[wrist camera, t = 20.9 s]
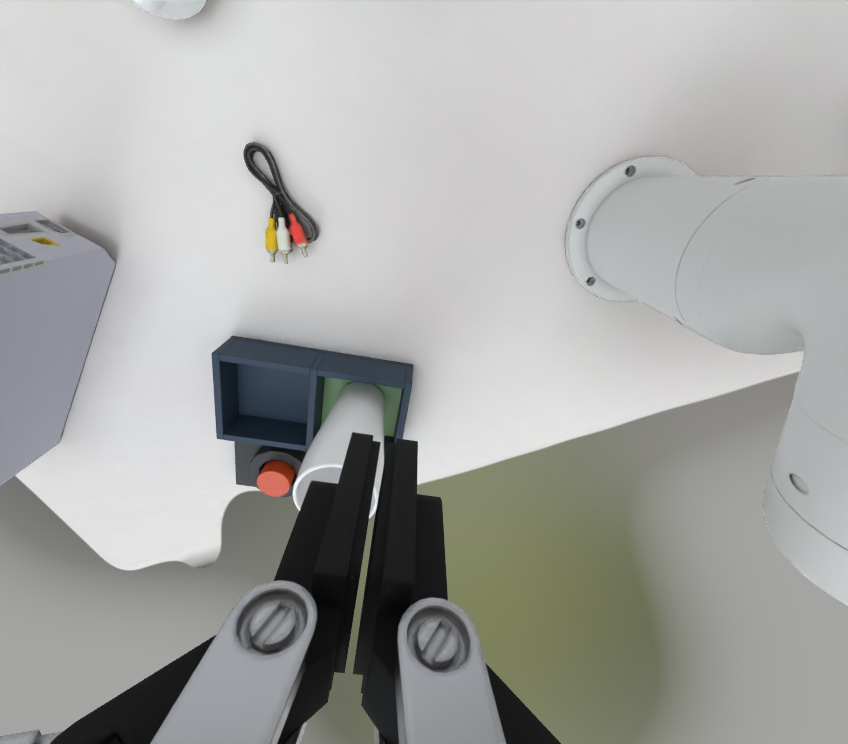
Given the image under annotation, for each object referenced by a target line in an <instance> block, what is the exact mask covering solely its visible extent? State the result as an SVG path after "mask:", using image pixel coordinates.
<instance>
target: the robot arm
mask: <svg viewBox="0 0 848 744" xmlns="http://www.w3.org/2000/svg"><path fill="white" fill-rule="evenodd" d="M627 168H628V173H627V174H625V171H626V169H627ZM577 220H579V221H580V223H579V225H577V226H576V222H577ZM565 252H566V257H567V262H568V265H569V267H570V270H571V272H572V274H573V276H574V277H575V278H576V280H577V281H578V282H579V284H580V285H582V286H583V287H584V288H585V289H586V290H587V291H589V292H590V293H592V294H594V295H595V296H597V297H600V298H602V299H605V300H608V301H614V302H632V301H638V300H639V301H641V302H643V303H644V304H646V305H648V306H650V307H652V308H653V309H655V310H657V311H659V312H660V313H662V314H664V315H666V316H667V317H669V318H671V319H673V320H674V321H676V322H678V323H680V324H681V325H683V326H685V327H687V328H689V329H690V330H692V331H694V332H696V333H697V334H699V335H701V336H703V337H704V338H706V339H708V340H710V341H712V342H714V343H716V344H718V345H720V346H722V347H725V348H727V349H730V350H734V351H737V352H742V353H748V354H759V355H773V354H783V353H791V352H798V351H803V350H804V357H803V362H802V366H801V369H800V373H799V376H798V379H797V382H796V385H795V389H794V398H793V401H792V404H791V407H790V410H789V413H788V416H787V419H786V422H785V425H784V428H783V431H782V434H781V437H780V440H779V443H778V446H777V449H776V452H775V455H774V458H773V462H772V465H771V469H770V472H769V475H768V478H767V482H766V487H765V491H764V499H763V510H764V519H765V522H766V525H767V528H768V531H769V534H770V535H771V537H772V539H773V541H774V542H775V544H776V545H777V547H778V548H779V550H780V551H781V552H782V554H783V555H784V556H785V557H786V559H787V560H788V561H789V562H790V563H791V564H792V565H793V566H794V567H795V568H796V569H798V570H799V571H800V572H801V573H802V574H803V575H804V576H805V577H806V578H808V579H809V580H810V581H811V582H813V583H814V584H815V585H817V586H818V587H820V588H821V589H822V590H824V591H825V592H827V593H828V594H830V595H831V596H832V597H834V598H835V599H837V600H839V601H840V602H842V603H844V604H845V605H847V606H848V175H832V176H698V175H697V174H696V173H695V172H694V171H693V170H692V169H691V168H690V167H688V166H687V165H685V164H684V163H682V162H680V161H677V160H674V159H671V158H669V157H659V156H649V157H640V158H636V159H631V160H628V161H625V162H623V163H621V164H618V165H616V166H614V167H612V168H611V169H609V170H608V171H606V172H605V173H603V174H602V175H600V176H599V177H598V178H597V179H596V180H595V181H594V182H593V183H592V184H591V185H590V186H589V187H588V188H587V189H586V191H585V192H584V193H583V195H582V196H581V197H580V199H579V200H578V202H577V204H576V206H575V208H574V209H573V211H572V214H571V217H570V220H569V222H568V226H567V232H566V237H565ZM589 277H590V280H589V281H588V282H586V281H587V279H588V278H589ZM380 444H381V442H378V441H373V435H369V434H362V433H355V432H352V435H351V438H350V442H349V446H348V449H347V453H346V456H345V460H344V464H343V467H342V471H341V475H340V478H339V482H338V484H336V483H328V482H321V481H313V480H312V481H311V482H310V485H309V487H308V490H307V492H306V495H305V498H304V500H303V503H302V506H301V509H300V511H299V514H298V517H297V519H296V522H295V525H294V528H293V530H292V533H291V536H290V538H289V541H288V544H287V546H286V549H285V552H284V555H283V557H282V560H281V563H280V566H279V568H278V571H277V574H276V576H275V579H274V581H273V582H267V583H264V584H262V585H260V586H258V587H255V588H253V589H252V590H251V591H249V592H248V593H247V594H245V595H244V596H243V597H241V599H240V600H239V601H238V603H237V604H236V605H235V606H234V608H233V609H232V610H231V612H230V614H229V615H228V617H227V619H226V620H225V622H224V623H223V625H222V627H221V628H220V630H219V632H218V633H217V635H215V636H214V637H212V638H210V639H209V640H207V641H205V642H204V643H202V644H201V645H199V646H197V647H196V648H194V649H193V650H191V651H189V652H188V653H186V654H184V655H183V656H181V657H180V658H178V659H176V660H175V661H173V662H172V663H170V664H168V665H167V666H165V667H163V668H162V669H160V670H159V671H157V672H155V673H154V674H152V675H151V676H149V677H147V678H146V679H144V680H143V681H141V682H139V683H138V684H136V685H134V686H133V687H131V688H130V689H128V690H126V691H125V692H123V693H122V694H120V695H118V696H117V697H115V698H114V699H112V700H110V701H109V702H107V703H105V704H104V705H102V706H101V707H99V708H97V709H96V710H94V711H93V712H91V713H89V714H88V715H86V716H85V717H83V718H81V719H80V720H78V721H77V722H75V723H74V724H73V725H71V726H70V727H69V728H67V729H66V730H65V731H63V732H58V733H52V734H46V735H41V733H40V731H39V730H33V731H28V732H22V733H17V734H11V735H5V736H0V744H300V742H301V739H302V736H303V733H304V730H305V726H306V721H307V720H308V719H309V718H310V717H312V716H313V715H314V714H315V713H316V712H317V711H318V710H319V709H320V708H322V707H323V706H324V705H325V704H326V703H327V702H328V697H329V691H330V690H331V687H332V681H333V675H334V672H339V673H344V672H345V666H346V659H347V653H348V647H349V641H350V634H351V628H352V622H353V615H354V609H355V602H356V596H357V590H358V584H359V577H360V571H361V564H362V558H363V552H364V546H365V539H366V533H367V526H368V520H369V514H370V508H371V501H372V495H373V489H374V482H375V476H376V470H377V463H378V457H379V451H380ZM417 452H418V442H417V441H411V440H404V439H396V444H392V443H388V444H387V449H386V455H385V461H384V467H383V473H382V479H381V485H380V491H379V497H378V503H377V509H376V515H375V521H374V528H373V535H372V542H371V549H370V556H369V563H368V571H367V578H366V585H365V592H364V599H363V606H362V613H361V620H360V628H359V635H358V642H357V649H356V656H355V663H354V670H353V674H361V675H363V680H362V688H361V693H363V696H362V704H361V705H362V707H363V708H364V710H365V711H366V713H367V714H368V716H369V717H370V719H371V720H372V722H373V723H374V725H375V726H376V727H375V744H561V743H560V742H559V741H558V740H557V739H556V738H555V737H554V736H553V735H552V734H551V732H550V731H549V730H548V729H547V728H546V727H545V726H544V725H543V724H542V723H541V722H540V721H539V720H538V719H537V718H536V716H535V715H534V714H532V712H531V711H530V710H529V709H528V708H527V707H526V706H525V705H524V704H523V703H522V702H521V700H520V699H519V698H518V697H517V696H516V695H515V694H514V693H513V692H512V691H511V690H510V689H509V688H508V687H507V685H506V684H505V683H504V682H503V681H502V680H501V679H500V678H499V677H498V676H497V675H496V674H495V673H494V672H493V671H492V669H491V668H490V667H489V666H488V665H487V664H486V663H485V660H484V656H483V652H482V649H481V645H480V641H479V637H478V634H477V631H476V629H475V626H474V624H473V622H472V620H471V619H470V618H469V616H468V615H467V614H466V612H465V611H463V610H462V609H461V608H460V607H458V606H457V605H456V604H455V603H452V602H450V601H448V599H447V598H448V597H447V581H446V565H445V564H446V563H445V548H444V547H445V546H444V530H443V512H442V501H441V498H440V497H433V496H426V495H419V494H417Z"/></svg>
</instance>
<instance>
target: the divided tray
mask: <svg viewBox="0 0 848 744" xmlns="http://www.w3.org/2000/svg"><path fill="white" fill-rule="evenodd" d="M212 366H213V382H214V399H215V416H216V432H217V439H224V440H229V441H236V442H244V443H251V444H258V445H265V446H273V447H280V448H287V449H294V450H301V451H305V450H306V451H307V450H308V449H309V447H310V445H311V443H312V441H313V439H314V438H315V436H316V434H317V432H318V431H319V429H320V427H321V426H322V424H323V422H324V420H325V419H326V417H327V415H328V414H329V412H330V410H331V408H332V407H333V405H334V403H335V401H336V398H337V396H338V394H339V392H340V391H341V389H342V388H343V387H345V386H346V385H348V384H350V383H353V382H361V383H367V384H373V385H374V386H376V387H377V388H378V389H379V390H380V391H381V392H382V394H383V395H384V398H385V402H386V407H385V414H384V461H385V455H386V449H387V444H388V443H392V444H396V439H402V437H403V431H404V426H405V420H406V415H407V410H408V404H409V399H410V393H411V388H412V377H413V365H412V364H406V363H399V362H393V361H387V360H380V359H374V358H368V357H362V356H355V355H349V354H343V353H336V352H330V351H324V350H317V349H311V348H305V347H299V346H292V345H286V344H280V343H273V342H267V341H261V340H255V339H248V338H242V337H236V336H232V337H231V338H230V339H228V340H227V341H226V342H225V343H224V344H222V345H221V346H220V347H219V348H218V349H216V350H215V351H214V352H213V353H212Z"/></svg>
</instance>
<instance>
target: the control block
mask: <svg viewBox="0 0 848 744" xmlns="http://www.w3.org/2000/svg"><path fill="white" fill-rule="evenodd" d="M306 453H307V451H306V450H305V451H301V450H294V449H287V448H280V447H273V446H265V445H258V444H251V443H244V442H236V441H235V464H236V484H238V485H246V486H254V487H257V488H258V486H257V478H258V476H259V474H260V473H261V471H262V469H263V467H264V466H265V464H266V463H268V462H270V461H273V460H280V461H284V462H286V463H287V464H289V465H290V466H291V467H292V468H293V470H294V472H295V477H294V480H293V482H292V484H291V487H290V489H289V491H288V492H287V493H286V494H284V495H282V496H280V497H287V496H291V495H293V487H294V484H295V481H296V478H297V475H298V472H299V469H300V466H301V464H302V461H303V459H304V457H305V455H306ZM258 489H259V488H258Z"/></svg>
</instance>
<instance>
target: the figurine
mask: <svg viewBox="0 0 848 744" xmlns="http://www.w3.org/2000/svg"><path fill="white" fill-rule="evenodd" d="M131 1H132V2H133V3H134V4H135V5H136V6H137V7H138V8H139V9H141V10H142V11H144V12H147V13H152V14H155V15H157V16H159V17H162V18H166V19H172V20H181V19H186V18H189V17H192V16H194V15H195V14H197V13H198V12H199V11H200V10H201V9H202V8H203V6H204V5H205V3H206V1H207V0H131Z"/></svg>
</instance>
